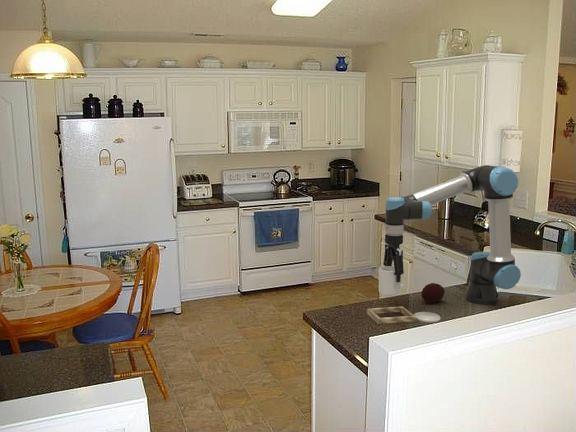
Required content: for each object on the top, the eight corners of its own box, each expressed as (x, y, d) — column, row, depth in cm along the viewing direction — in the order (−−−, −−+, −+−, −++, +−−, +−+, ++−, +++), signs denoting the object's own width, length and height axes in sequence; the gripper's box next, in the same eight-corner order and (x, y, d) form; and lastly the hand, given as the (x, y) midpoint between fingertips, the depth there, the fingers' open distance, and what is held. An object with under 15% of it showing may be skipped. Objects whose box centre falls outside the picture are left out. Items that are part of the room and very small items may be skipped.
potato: (448, 303, 255) (449, 284, 253) (427, 306, 250) (428, 287, 248) (436, 298, 263) (437, 279, 261) (415, 301, 258) (416, 282, 256)
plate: (432, 312, 242) (432, 311, 242) (445, 321, 231) (445, 319, 231) (409, 314, 240) (409, 312, 239) (420, 323, 229) (421, 321, 229)
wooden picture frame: (402, 310, 244) (402, 306, 244) (415, 321, 231) (416, 316, 231) (366, 313, 241) (366, 308, 240) (377, 323, 228) (378, 319, 227)
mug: (409, 294, 232) (410, 269, 230) (383, 296, 229) (384, 272, 227) (400, 288, 240) (401, 264, 238) (375, 290, 237) (375, 266, 235)
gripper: (376, 229, 240) (375, 279, 243) (396, 239, 219) (394, 294, 223) (392, 229, 241) (391, 278, 245) (413, 238, 221) (411, 292, 224)
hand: (392, 286), depth 234 cm, fingers closed on mug, 9 cm apart
